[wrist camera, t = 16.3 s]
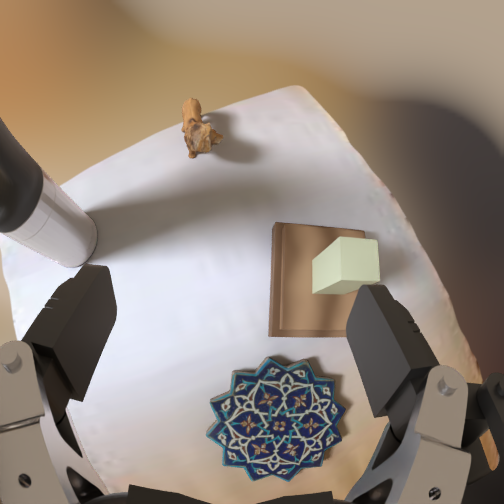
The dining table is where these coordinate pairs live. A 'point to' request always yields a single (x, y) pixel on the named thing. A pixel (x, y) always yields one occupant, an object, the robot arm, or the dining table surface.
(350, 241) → the sage block
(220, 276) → the dining table surface
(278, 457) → the decorative tile
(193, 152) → the lion figurine
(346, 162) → the dining table surface
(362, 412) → the dining table surface
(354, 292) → the walnut plinth
